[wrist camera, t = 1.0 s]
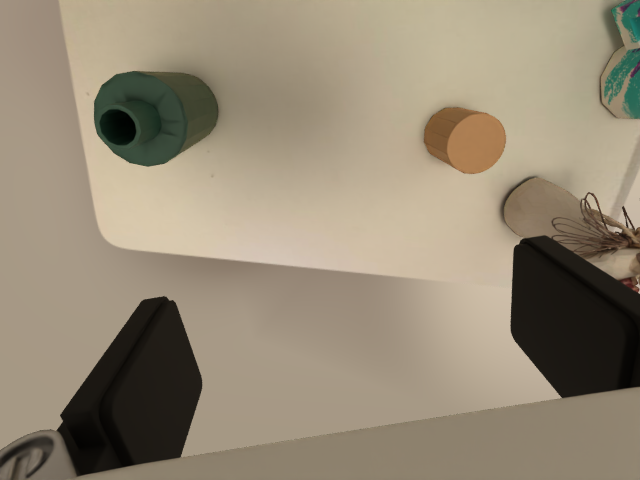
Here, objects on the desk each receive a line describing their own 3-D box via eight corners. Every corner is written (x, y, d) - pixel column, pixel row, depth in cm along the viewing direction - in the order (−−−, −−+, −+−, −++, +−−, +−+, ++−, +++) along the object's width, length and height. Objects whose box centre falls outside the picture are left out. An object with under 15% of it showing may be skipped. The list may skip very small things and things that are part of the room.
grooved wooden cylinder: (415, 126, 41) (437, 135, 35) (461, 97, 41) (492, 101, 34) (437, 168, 43) (461, 184, 37) (481, 141, 42) (514, 153, 36)
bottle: (137, 97, 39) (39, 110, 24) (189, 59, 38) (120, 48, 23) (181, 153, 41) (115, 196, 27) (231, 119, 40) (192, 143, 25)
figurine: (521, 245, 48) (662, 352, 29) (473, 186, 44) (598, 264, 26) (591, 191, 45) (792, 270, 27) (546, 125, 42) (740, 162, 24)
